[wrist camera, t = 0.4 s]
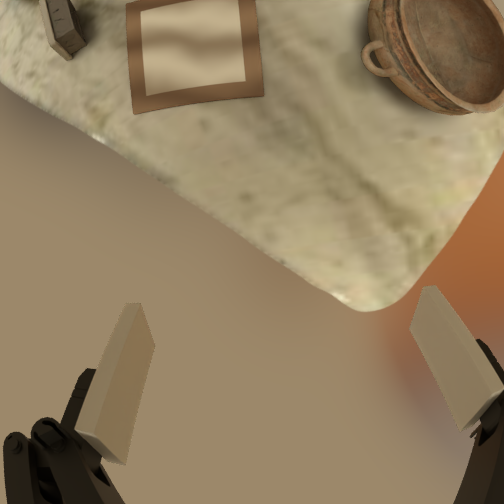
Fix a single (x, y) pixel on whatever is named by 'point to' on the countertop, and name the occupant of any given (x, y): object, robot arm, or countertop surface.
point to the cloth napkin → (192, 52)
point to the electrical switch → (62, 27)
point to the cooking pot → (440, 52)
